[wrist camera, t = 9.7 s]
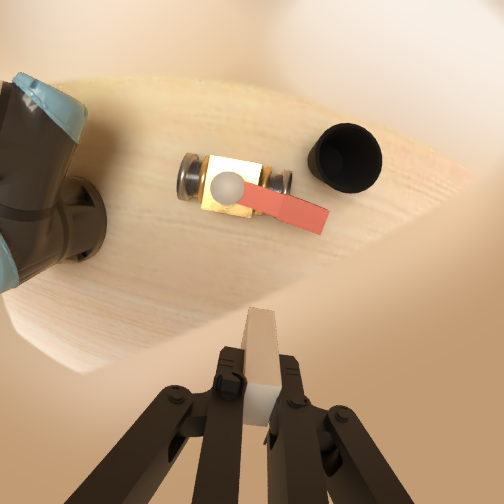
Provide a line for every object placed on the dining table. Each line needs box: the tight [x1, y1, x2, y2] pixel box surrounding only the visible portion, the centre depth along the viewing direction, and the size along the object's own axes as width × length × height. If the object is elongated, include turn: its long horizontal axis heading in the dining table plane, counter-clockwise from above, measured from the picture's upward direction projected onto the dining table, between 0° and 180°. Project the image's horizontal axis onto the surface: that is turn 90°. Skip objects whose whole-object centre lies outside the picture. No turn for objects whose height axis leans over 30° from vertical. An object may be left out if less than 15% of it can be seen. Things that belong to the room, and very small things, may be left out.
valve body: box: [177, 153, 292, 218], centre depth 36 cm, size 14×7×10 cm, turn 79°
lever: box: [210, 171, 330, 235], centre depth 30 cm, size 13×4×2 cm, turn 71°
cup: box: [308, 123, 382, 194], centre depth 33 cm, size 8×8×12 cm
